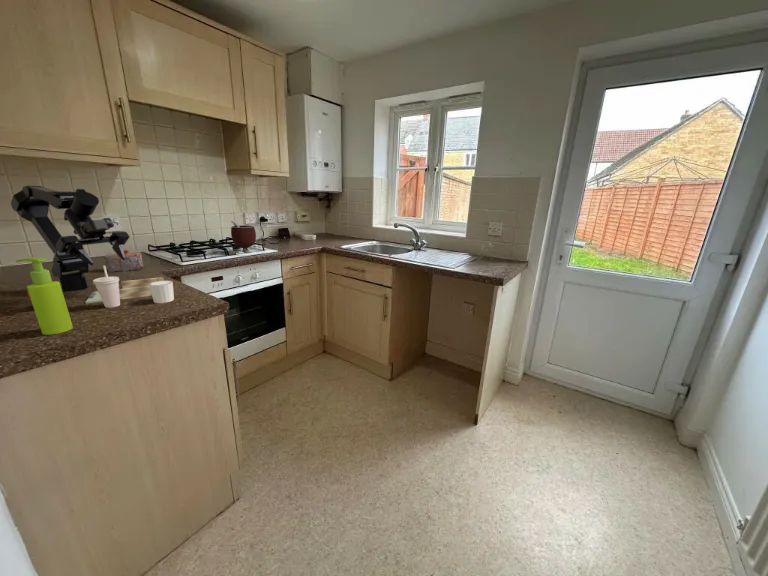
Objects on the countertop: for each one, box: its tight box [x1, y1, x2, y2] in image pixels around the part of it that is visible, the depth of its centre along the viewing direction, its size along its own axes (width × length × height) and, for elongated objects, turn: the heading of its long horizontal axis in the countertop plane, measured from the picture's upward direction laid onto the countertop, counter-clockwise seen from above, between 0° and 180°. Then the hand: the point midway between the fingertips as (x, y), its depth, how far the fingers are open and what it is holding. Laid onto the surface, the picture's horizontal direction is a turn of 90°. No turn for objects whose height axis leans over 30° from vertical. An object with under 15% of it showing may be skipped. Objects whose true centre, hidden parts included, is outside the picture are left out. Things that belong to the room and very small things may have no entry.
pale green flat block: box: [85, 290, 103, 304], centre depth 109 cm, size 8×13×2 cm, turn 32°
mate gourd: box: [230, 220, 257, 253], centre depth 191 cm, size 16×14×20 cm
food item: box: [104, 249, 144, 273], centre depth 147 cm, size 14×8×10 cm, turn 118°
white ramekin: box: [148, 279, 175, 304], centre depth 106 cm, size 7×7×7 cm
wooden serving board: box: [119, 276, 165, 300], centre depth 115 cm, size 13×13×4 cm
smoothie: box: [92, 265, 121, 309], centre depth 99 cm, size 6×6×14 cm
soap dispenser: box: [15, 257, 74, 336], centre depth 81 cm, size 6×7×20 cm
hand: (109, 261), depth 105 cm, fingers open, 9 cm apart
